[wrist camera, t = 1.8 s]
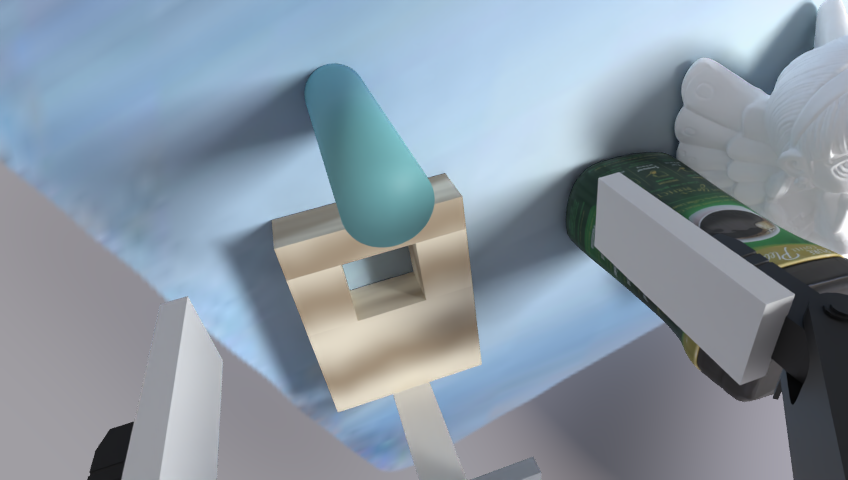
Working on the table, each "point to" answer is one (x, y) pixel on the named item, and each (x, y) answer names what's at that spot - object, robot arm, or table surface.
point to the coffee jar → (714, 217)
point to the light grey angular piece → (443, 441)
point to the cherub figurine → (778, 135)
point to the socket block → (383, 301)
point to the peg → (366, 161)
